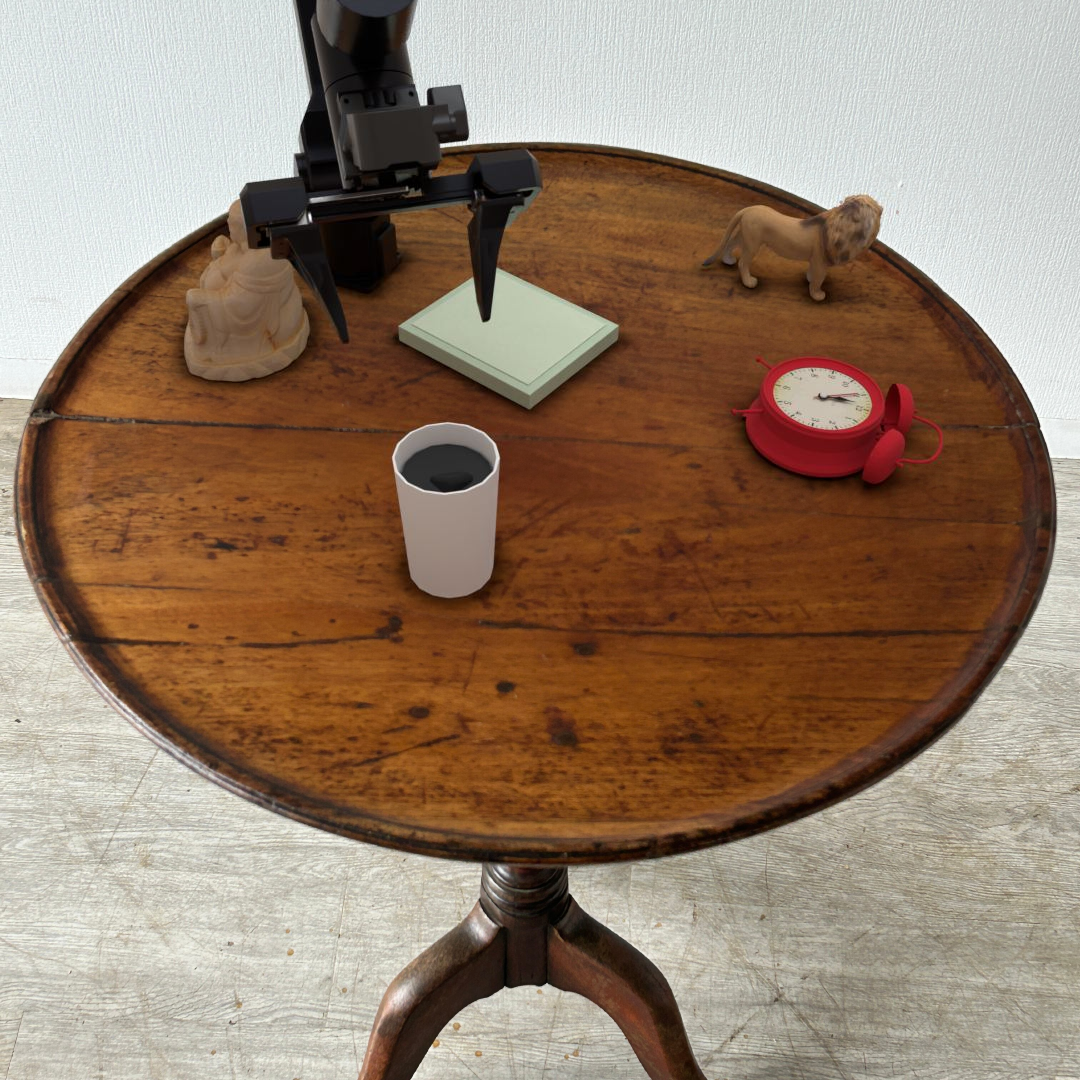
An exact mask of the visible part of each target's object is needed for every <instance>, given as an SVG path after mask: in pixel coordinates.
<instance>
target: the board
mask: <svg viewBox="0 0 1080 1080" xmlns="http://www.w3.org/2000/svg"><path fill="white" fill-rule="evenodd" d="M397 328H398V340H399V341H400V342H402V343H403V344H405V345H407V346H409V347H410V348H413V349H415V350H416V351H418V352H420V353H422V354H424V355H426V356H428V357H430V358H431V359H434V360H435V361H437V362H439V363H441V364H443V365H445V366H446V367H449V368H450V369H452V370H454V371H456V372H458V373H460V374H462V375H464V376H465V377H467V378H468V379H470V380H473V381H475V382H476V383H479V384H480V385H482V386H484V387H486V388H488V389H490V390H491V391H493V392H495V393H497V394H499V395H501V396H503V397H505V398H507V399H509V400H510V401H512V402H514V403H515V404H518V405H519V406H522V407H524V408H525V409H527V410H531V409H533V407H535V406H536V405H538V404H539V403H540V402H541V401H542V400H543V399H545V398H546V397H548V395H550V394H551V393H553V392H554V391H555V390H556V389H558V388H559V387H560V386H561V385H562V384H563V383H565V382H566V381H568V380H569V379H570V378H571V377H573V376H574V375H575V374H576V373H578V372H579V371H580V370H581V369H583V368H584V367H585V366H586V365H588V364H589V363H590V362H592V361H593V360H594V359H596V358H597V357H598V356H599V355H600V354H602V353H603V352H605V350H607V349H608V348H609V347H611V346H612V345H613V344H615V343H616V342H617V341H618V339H619V331H620V330H619V329H620V325H619V324H617V323H615V322H613V321H611V320H608V319H606V318H604V317H602V316H601V315H598V314H596V313H593V312H592V311H589V310H587V309H585V308H584V307H581V306H579V305H577V304H574V303H573V302H570V301H568V300H566V299H564V298H562V297H560V296H558V295H556V294H554V293H552V292H549V291H547V290H545V289H543V288H541V287H539V286H536V285H535V284H533V283H531V282H528V281H526V280H524V279H521V278H520V277H517V276H515V275H514V274H511V273H509V272H507V271H505V270H503V269H500V268H499V267H497V269H496V277H495V285H494V294H493V302H492V310H491V318H490V320H489V321H488V322H484V323H483V322H482V320H481V316H480V313H479V309H478V305H477V301H476V293H475V285H474V278H473V276H472V277H471V278H469V279H467V280H466V281H465V282H463V283H461V284H460V285H458V286H457V287H456V288H454V289H452V290H451V291H449V292H448V293H446V294H445V295H443V296H442V297H440V298H439V299H437V300H435V301H434V302H432V303H431V304H429V305H428V306H427V307H425V308H423V309H422V310H420V311H419V312H417V313H416V314H414V315H412V316H411V317H409V318H408V319H407V320H405V321H404V322H401V324H399V325H398V326H397Z"/></svg>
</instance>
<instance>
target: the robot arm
mask: <svg viewBox="0 0 1080 1080" xmlns="http://www.w3.org/2000/svg"><path fill="white" fill-rule="evenodd" d="M418 2H419V0H292V4H293V11H294V16H295V21H296V28H297V33H298V39H299V44H300V49H301V55H302V61H303V67H304V72H305V79H306V84H307V89H308V96H309V101H308V103H307V106H306V110H305V112H304V114H303V117H302V120H301V123H300V126H299V130H298V131H299V132H298V137H297V142H298V147H299V152H295V153H293V170H292V171H293V176H290V177H281V178H274V179H265V180H258V181H249V182H246V183H245V184H244V186H243V187H242V189H241V191H240V192H239V194H238V196H239V199H240V205H241V212H242V218H243V223H244V228H245V233H246V238H247V243H248V248H249V249H257V250H258V249H265V248H270V254H271V258H272V259H274V260H281V259H287V260H288V261H289V262H290V263H291V265H292V266H293V270H295V272H296V273H297V274H298V275H299V277H300V278H301V279H302V280H303V282H304V283H305V284H306V286H307V287H308V288H309V290H310V291H311V293H312V294H313V296H314V297H315V300H316V301H317V303H318V305H319V306H320V309H322V312H323V313H324V315H325V316H326V318H327V320H328V321H329V323H330V325H331V327H332V328H333V331H334V332H335V333H336V335H337V337H338V339H339V340H340V342H341V344H342V345H343V346H344V345H349V344H350V335H349V329H348V325H347V319H346V315H345V312H344V309H343V306H342V302H341V299H340V297H339V293H338V290H337V287H336V285H339V286H342V287H345V288H349V289H353V290H357V291H359V292H364V293H370V292H372V291H373V290H374V289H375V288H376V287H378V285H380V283H381V282H383V280H384V279H385V278H386V277H387V276H388V275H389V274H390V273H391V272H392V270H394V268H395V267H396V266H397V265H398V264H399V263H400V262H401V261H402V260H403V258H404V257H403V256H404V255H403V252H402V251H400V250H398V244H397V243H398V242H397V229H396V225H395V223H394V222H393V221H391V215H392V214H400V213H408V212H415V211H423V210H430V209H438V208H444V207H453V206H460V205H466V208H467V210H468V211H470V212H471V213H472V217H471V218H470V220H469V222H468V224H467V226H466V229H467V230H466V231H467V237H468V239H467V240H468V245H469V246H468V247H469V253H470V261H471V268H472V277H473V278H474V285H475V293H476V301H477V305H478V309H479V313H480V316H481V320H482V322H483V323H484V322H488V321H489V320H490V318H491V310H492V302H493V294H494V285H495V277H496V269H497V268H498V266H497V265H498V260H499V254H500V249H501V245H502V241H503V236H504V233H505V229H507V228H509V227H511V226H512V225H513V223H514V222H515V221H516V219H518V217H519V216H520V214H521V213H525V212H527V211H528V209H530V207H531V206H532V204H533V203H534V202H535V201H536V199H537V198H538V196H539V194H540V193H542V191H543V189H544V185H543V180H542V173H541V170H540V164H539V161H538V160H537V158H536V157H535V156H534V155H533V154H532V153H531V152H530V151H529V150H528V149H527V148H517V149H508V150H500V151H492V152H485V153H477V154H474V155H473V158H472V159H471V162H470V164H469V166H468V168H467V170H466V171H465V172H464V173H463V172H462V173H456V174H447V175H440V176H439V175H438V176H433V172H432V171H434V170H435V171H436V170H438V167H439V166H440V163H441V162H443V157H442V151H441V145H442V144H443V145H445V144H451V143H461V142H467V141H469V139H470V126H469V118H468V111H467V107H466V101H465V97H464V93H463V87H462V84H461V83H459V84H451V85H443V86H442V85H441V86H434V87H433V86H432V87H429V88H427V90H426V104H425V105H421V103H420V98H419V95H418V94H419V93H418V91H417V87H416V84H415V81H414V76H413V71H412V66H411V59H410V55H409V50H408V45H407V42H408V40H409V38H410V36H411V32H412V28H413V25H414V24H413V23H414V19H415V14H416V10H417V6H418ZM420 194H421V195H420ZM414 195H416V196H414ZM407 196H408V197H407Z"/></svg>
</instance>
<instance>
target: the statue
mask: <svg viewBox="0 0 1080 1080" xmlns="http://www.w3.org/2000/svg"><path fill="white" fill-rule="evenodd" d="M226 222H227V224H228V230H229V232H230V233H229V237H230V239H231V241H232V243H231V241H230V239H229V238H228V237H227V236H225V235H224V234H220V235H218V236H217V237H216V238H215V239H214V240H213V242H212V244H211V250H210V254H211V257H212V259H213V260H212V261H211V262H210V263H209V265H207V266H206V267H205V269H204V271H203V272H202V273H201V275H200V277H199V288H197V287H195V288H190V289H188V290H187V291H186V295H185V303H186V306H187V307H188V322H187V325H186V328H185V332H184V338H183V339H184V340H183V342H184V343H183V345H184V346H183V355H184V359H185V361H186V367H187V368H188V371H189V373H190V374H191V375H193V376H196V377H200V378H202V379H205V380H209V381H225V382H243V381H249V380H251V379H259V378H264V377H267V376H269V375H271V374H273V373H275V372H278V371H281V370H283V369H285V368H287V367H288V366H289V365H291V364H292V362H293V361H295V360H297V359H299V356H301V354H302V353H303V352H304V351H305V350H306V347H307V343H308V337H309V335H310V332H311V328H310V321H309V315H308V313H307V311H306V308H305V307H303V299H302V294H301V291H300V289H299V287H298V285H297V283H296V282H295V273H294V267H293V266H292V265H291V263H290V262H289V261H288V260H287V259H281V260H274V259H272V258H271V254H270V248H265V249H258V250H257V249H249V248H248V243H247V238H246V233H245V228H244V223H243V218H242V212H241V205H240V198H237V199H236V200H234V201H233V202H232V203H231V204H230V206H229V208H228V218H227V221H226Z"/></svg>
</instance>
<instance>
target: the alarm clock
mask: <svg viewBox="0 0 1080 1080" xmlns="http://www.w3.org/2000/svg"><path fill="white" fill-rule="evenodd" d="M755 362H756V363H760V364H762V365H763V366H765V367H766V368H767V369H768V370H769V371H768V372H767V374H766V375H765V377H763V380H762V382H761V385H760V389H759V395H758V397H756V398H755V399H754V401H753V402H752V403H751V405H750V406H749V408H748V409H747V408H745V409H740V410H739V409H736V408H732V409H731V411H730V414H731V415H732V416H736V415H737V414H742V418H741V419H743V418H745V430H746V434H747V437H748V438H749V441H750V442H751V444H752V445H753V447H754V448H755V449H756V450H757V452H758V453H760V455H762V456H763V457H765V458H766V459H767V460H768V461H770V462H771V463H772V464H775V465H776V466H779V467H780V468H782V469H785V470H788V471H790V472H793V473H796V474H800V475H804V476H807V477H815V478H816V477H817V478H839V477H845V476H849V475H852V474H855V473H858V472H861V471H862V470H863V471H862V474H861V475H862V480H863V481H865V482H866V483H869V484H872V485H874V484H875V485H876V484H880V483H881V482H883V481H885V480H886V479H888V477H890V476H891V474H892V473H894V471H895V470H896V468H897V467H899V468H901V469H902V468H904V465H905V464H904V463H907V464H912V465H913V464H915V465H925V464H929V463H933V461H935V460H936V459H937V458H938V457H939V455H940V454H941V452H942V450H943V446H944V444H943V443H944V437H943V432H942V430H941V428H939V427H938V425H937V424H935V423H933V422H932V421H930V420H929V419H925V418H923V417H920V416H917V415H916V414H919V409H915V405H914V404H915V403H914V397H913V394H912V393H911V390H910V388H909V387H907V386H906V385H904V384H903V383H892V384H891V385H890V387H889V388H888V391H887V392H886V393H887V394H886V395H885V398H884V395H883V391H882V390H881V388H880V387H879V385H878V383H876V381H875V380H874V379H873V378H872V377H871V375H870V376H869V374H867V373H866V372H865V371H863V370H861V369H859V368H858V367H856V366H854V365H853V364H852V365H851V364H849V363H847V362H844V361H841V360H838V359H835V358H829V357H824V356H823V357H822V356H800V357H795V358H790V359H787V360H784V361H782V362H780V363H777V365H775V366H772V365H771V364H769V363H767V362H766V361H764V360H763V359H762V357H761V356H756V358H755ZM914 414H915V415H914ZM913 419H914V420H916V421H918V422H921V423H923V424H924V423H925V424H927V425H929V426H930V427H932V428H933V429H934V430H935V431H936V432H937V435H938V437H939V438H938V439H939V442H938V447H937V451H936V452H935V454H934V455H933V456H932V457H930V458H927V459H921V460H916V459H908V458H902V456H903V455H904V453H905V452H904V451H905V447H906V440H905V436H906V434H907V433H908V432H909V430H910V428H911V426H912V424H913ZM882 426H883V429H884V431H883V429H882Z"/></svg>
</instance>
